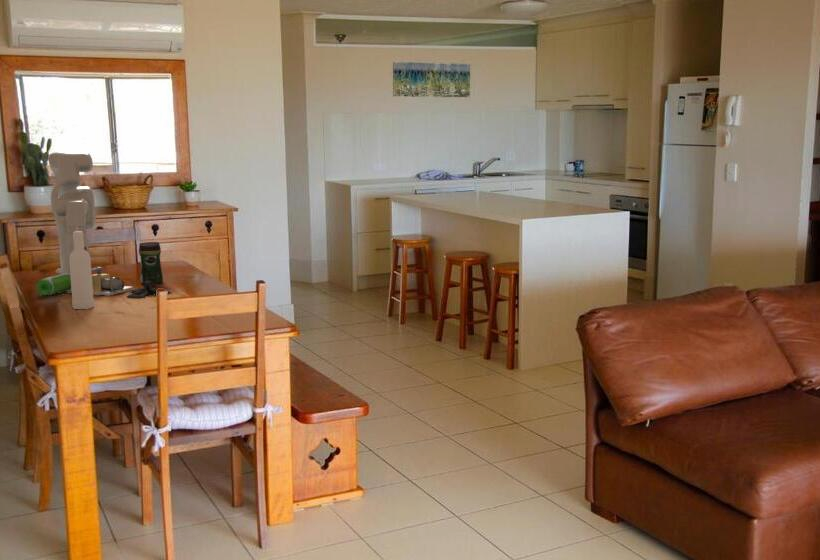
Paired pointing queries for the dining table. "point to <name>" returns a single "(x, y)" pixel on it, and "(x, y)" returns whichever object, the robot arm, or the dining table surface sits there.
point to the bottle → (81, 274)
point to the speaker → (54, 284)
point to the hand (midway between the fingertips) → (80, 273)
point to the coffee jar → (150, 262)
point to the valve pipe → (106, 285)
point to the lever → (97, 270)
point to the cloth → (145, 291)
